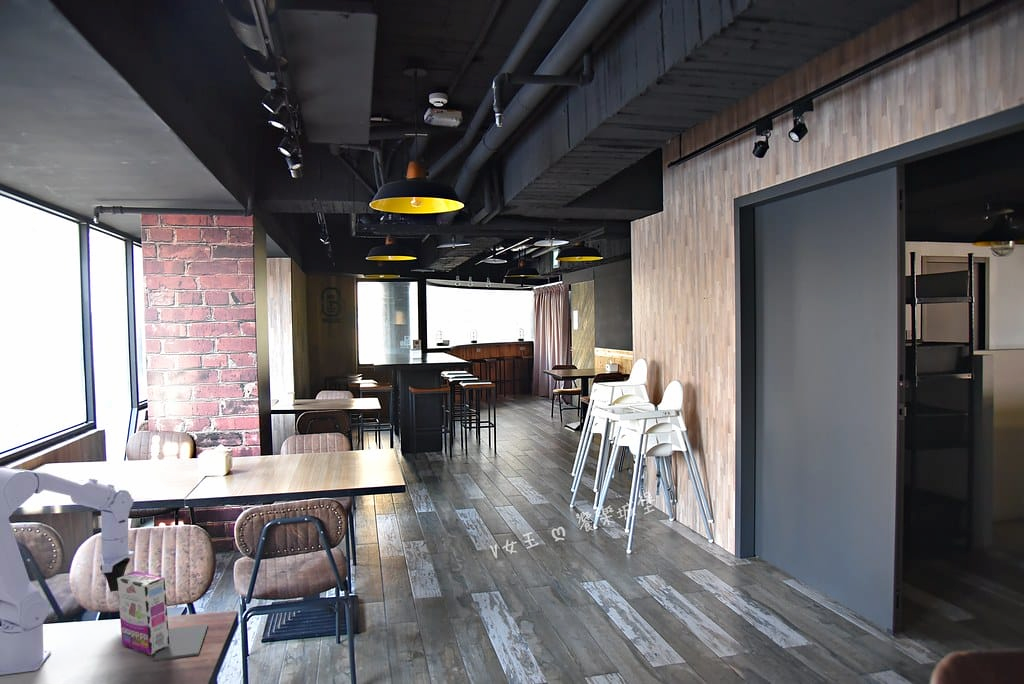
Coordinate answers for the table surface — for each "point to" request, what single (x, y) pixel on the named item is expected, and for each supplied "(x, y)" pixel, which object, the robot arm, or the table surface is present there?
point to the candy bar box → (143, 612)
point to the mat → (183, 642)
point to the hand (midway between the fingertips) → (115, 590)
